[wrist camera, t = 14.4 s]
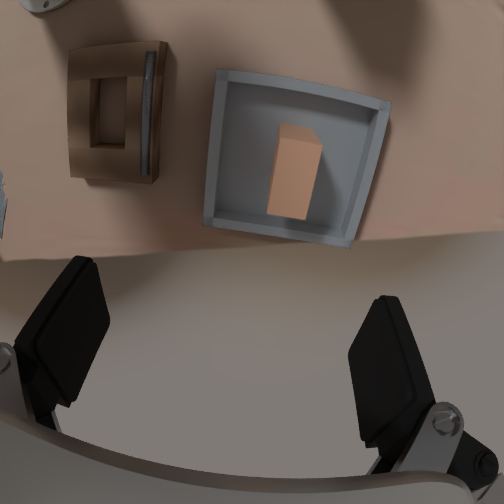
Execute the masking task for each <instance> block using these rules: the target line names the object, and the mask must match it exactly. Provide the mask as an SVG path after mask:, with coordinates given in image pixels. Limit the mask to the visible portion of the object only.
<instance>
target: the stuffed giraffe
mask: <svg viewBox="0 0 504 504" xmlns="http://www.w3.org/2000/svg"><path fill="white" fill-rule="evenodd" d="M2 178H3V175H2V173H1V172H0V238H1V236H2V229H3V222H4V215H5V208H6V203H7V200H6V201H5V195H4V192H3V185H6V184H5V183H4V184H2ZM1 218H2V220H1Z"/></svg>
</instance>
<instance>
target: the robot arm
mask: <svg viewBox="0 0 504 504" xmlns="http://www.w3.org/2000/svg"><path fill="white" fill-rule="evenodd" d="M68 1H70V0H19V2H20V4H21V6H22V7H23V8H24V9H25V10H28V11H30V12H37V13H39V12H48V11H52V10H54V9H56V8H59V7H61V6H62V5H64V4H65V3H67V2H68ZM109 325H110V316H109V312H108V309H107V305H106V301H105V297H104V294H103V289H102V285H101V281H100V277H99V272H98V268H97V265H96V263H94V262H93V260H92V258H90V257H84V256H78V255H77V256H75V257H73V259H72V260H71V261H70V263H69V264H68V265H67V266H66V268H65V269H64V270H63V272H62V273H61V274H60V275H59V277H58V278H57V279H56V281H55V282H54V284H53V285H52V286H51V288H50V289H49V290H48V292H47V293H46V295H45V296H44V297H43V299H42V300H41V302H40V303H39V304H38V306H37V307H36V309H35V310H34V312H33V313H32V315H31V316H30V318H29V319H28V321H27V322H26V324H25V325H24V327H23V328H22V330H21V332H20V333H19V335H18V336H17V338H16V339H15V344H14V346H13V347H12V346H11V345H10V344H8V343H4V342H1V343H0V504H504V475H503V474H502V473H500V474H498V469H499V464H498V460H497V457H496V455H495V454H494V453H493V452H492V451H491V450H490V449H489V448H487V447H486V446H484V445H483V444H482V443H480V442H479V441H477V440H476V439H475V438H473V437H472V436H470V435H469V434H468V433H466V432H465V431H464V430H463V429H464V419H463V417H462V414H461V412H460V411H459V409H458V408H457V407H455V406H454V405H453V404H450V403H448V402H439V403H436V401H435V398H434V394H433V391H432V388H431V385H430V382H429V379H428V375H427V373H426V369H425V367H424V364H423V361H422V358H421V355H420V352H419V349H418V347H417V344H416V341H415V339H414V336H413V333H412V331H411V328H410V325H409V323H408V320H407V318H406V315H405V313H404V310H403V308H402V306H401V303H400V301H399V299H398V297H396V296H386V295H382V296H380V297H379V298H378V299H375V300H374V302H373V303H372V306H371V308H370V310H369V312H368V314H367V316H366V318H365V320H364V322H363V324H362V326H361V328H360V330H359V332H358V334H357V335H356V337H355V339H354V341H353V343H352V345H351V347H350V349H349V352H348V360H349V366H350V372H351V378H352V384H353V389H354V396H355V402H356V409H357V416H358V423H359V431H360V437H361V440H362V441H365V446H366V448H374V447H378V451H379V456H378V458H377V459H376V461H375V462H374V464H373V465H372V467H371V468H370V470H369V471H368V472H367V474H366V475H363V476H350V477H335V478H306V479H291V478H262V477H247V476H235V475H226V474H218V473H211V472H204V471H197V470H190V469H185V468H179V467H175V466H170V465H164V464H160V463H155V462H152V461H147V460H143V459H139V458H135V457H132V456H128V455H125V454H121V453H118V452H114V451H111V450H108V449H104V448H102V447H98V446H95V445H92V444H90V443H87V442H84V441H81V440H79V439H76V438H73V437H70V436H68V435H65V434H63V433H62V431H61V428H60V426H59V423H58V420H57V417H56V413H55V410H54V409H55V407H56V405H57V404H60V405H62V406H65V407H67V408H69V407H70V405H71V402H74V401H76V399H77V397H78V395H79V392H80V390H81V387H82V385H83V383H84V380H85V378H86V376H87V373H88V371H89V369H90V367H91V364H92V362H93V360H94V358H95V355H96V353H97V351H98V349H99V347H100V345H101V342H102V340H103V338H104V336H105V334H106V332H107V330H108V328H109Z"/></svg>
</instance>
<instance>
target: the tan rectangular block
mask: <svg viewBox="0 0 504 504" xmlns="http://www.w3.org/2000/svg"><path fill="white" fill-rule="evenodd" d="M322 147H323V145H322V144H321V142H320V140H319V139H318V137H317V136H316V134H315V132H314V131H313V129H311V128H307V127H301V126H296V125H291V124H285V123H279V128H278V134H277V140H276V146H275V151H274V157H273V163H272V168H271V174H270V180H269V190H268V204H267V214H271V215H277V216H283V217H289V218H295V219H301V220H305V219H306V215H307V211H308V207H309V203H310V199H311V195H312V190H313V186H314V182H315V178H316V173H317V169H318V165H319V160H320V156H321V151H322Z"/></svg>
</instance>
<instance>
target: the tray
mask: <svg viewBox="0 0 504 504" xmlns="http://www.w3.org/2000/svg"><path fill="white" fill-rule="evenodd" d="M391 104H392V103H390V102H387V101H384V100H381V99H377V98H374V97H370V96H367V95H363V94H360V93H356V92H352V91H348V90H344V89H340V88H336V87H332V86H328V85H323V84H319V83H314V82H309V81H304V80H298V79H293V78H287V77H281V76H275V75H268V74H261V73H253V72H244V71H235V70H224V69H217V74H216V82H215V90H214V99H213V108H212V117H211V127H210V137H209V148H208V159H207V171H206V183H205V197H204V212H203V225H204V226H211V227H217V228H224V229H231V230H237V231H244V232H251V233H257V234H264V235H270V236H276V237H283V238H289V239H295V240H302V241H308V242H314V243H320V244H327V245H332V246H339V247H345V248H351V246H352V243H353V240H354V237H355V234H356V231H357V228H358V225H359V222H360V219H361V216H362V212H363V209H364V206H365V203H366V199H367V196H368V193H369V189H370V186H371V183H372V179H373V176H374V172H375V169H376V165H377V161H378V158H379V154H380V150H381V146H382V142H383V138H384V134H385V130H386V126H387V122H388V118H389V113H390V109H391ZM279 123H285V124H291V125H296V126H301V127H307V128H311V129H313V131H314V132H315V134H316V136H317V137H318V139H319V140H320V142H321V144H322V145H323V147H322V151H321V156H320V160H319V165H318V169H317V173H316V178H315V182H314V186H313V190H312V195H311V199H310V203H309V207H308V211H307V215H306V219H305V220H301V219H295V218H289V217H283V216H277V215H271V214H267V204H268V190H269V180H270V174H271V168H272V163H273V157H274V151H275V146H276V140H277V134H278V128H279Z"/></svg>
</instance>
